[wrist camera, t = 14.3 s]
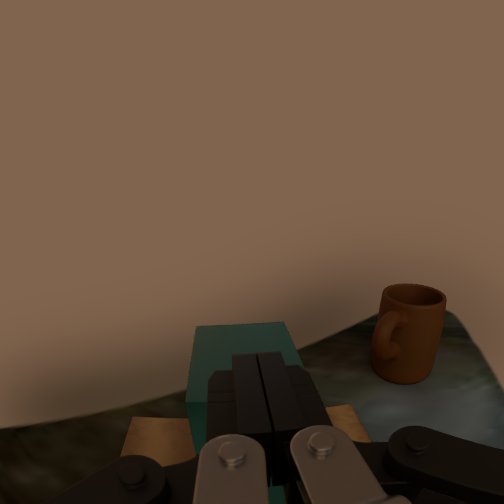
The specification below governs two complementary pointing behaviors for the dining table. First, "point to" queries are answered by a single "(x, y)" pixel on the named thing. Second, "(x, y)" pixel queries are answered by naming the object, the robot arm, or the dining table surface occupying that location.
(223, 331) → the carton
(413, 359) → the mug
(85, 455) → the dining table surface
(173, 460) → the cork mat
